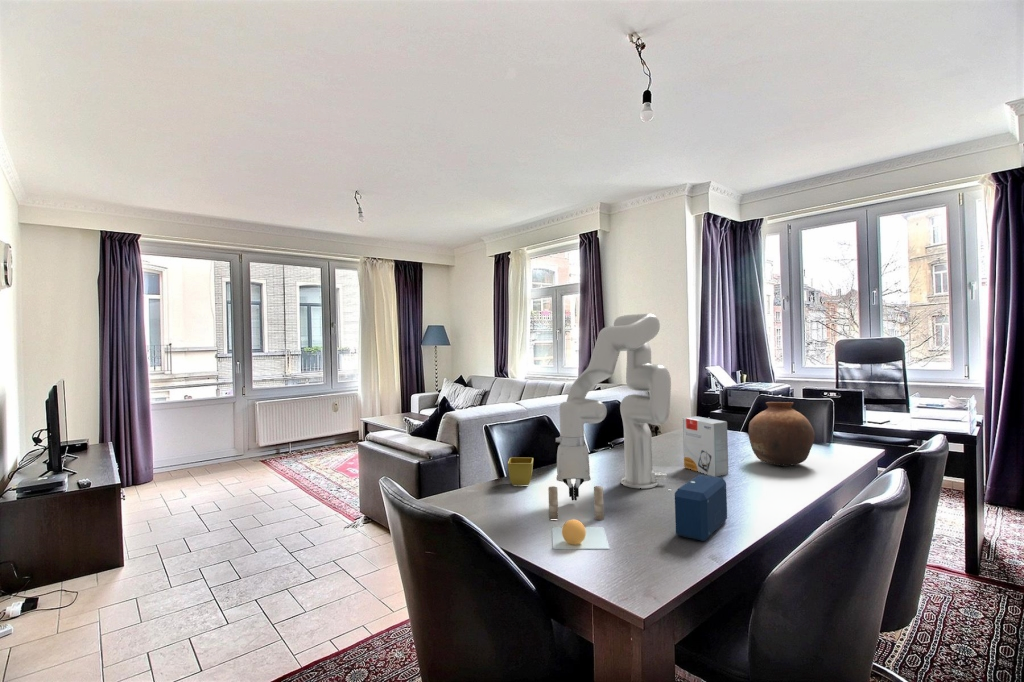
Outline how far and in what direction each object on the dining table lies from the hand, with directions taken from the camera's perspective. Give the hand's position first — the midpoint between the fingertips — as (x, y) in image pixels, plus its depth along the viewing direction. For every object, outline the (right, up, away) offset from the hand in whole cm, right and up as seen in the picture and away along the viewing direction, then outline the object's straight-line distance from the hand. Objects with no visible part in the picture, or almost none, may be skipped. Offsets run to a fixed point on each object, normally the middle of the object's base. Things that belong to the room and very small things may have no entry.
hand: (574, 499), depth 156 cm
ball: (-4, +1, -31) cm, 31 cm away
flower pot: (-16, -2, +22) cm, 28 cm away
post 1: (-7, -2, -12) cm, 15 cm away
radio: (+32, -1, -23) cm, 39 cm away
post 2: (+6, -1, -13) cm, 15 cm away
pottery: (+87, +1, +40) cm, 96 cm away
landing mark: (-2, -2, -27) cm, 27 cm away
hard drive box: (+55, 0, +33) cm, 64 cm away
